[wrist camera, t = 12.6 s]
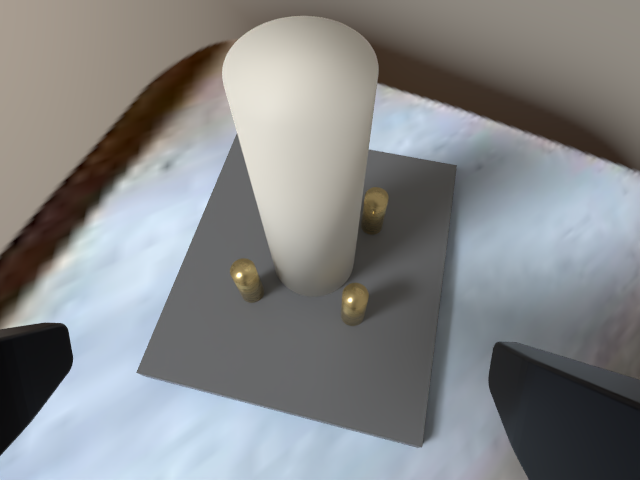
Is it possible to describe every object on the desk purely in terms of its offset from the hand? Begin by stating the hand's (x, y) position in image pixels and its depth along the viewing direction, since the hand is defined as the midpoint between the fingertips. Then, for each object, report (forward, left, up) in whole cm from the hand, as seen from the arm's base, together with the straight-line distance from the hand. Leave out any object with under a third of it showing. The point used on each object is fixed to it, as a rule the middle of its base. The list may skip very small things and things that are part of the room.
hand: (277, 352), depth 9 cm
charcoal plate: (+8, +2, -13) cm, 16 cm away
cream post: (+8, +2, -12) cm, 15 cm away
